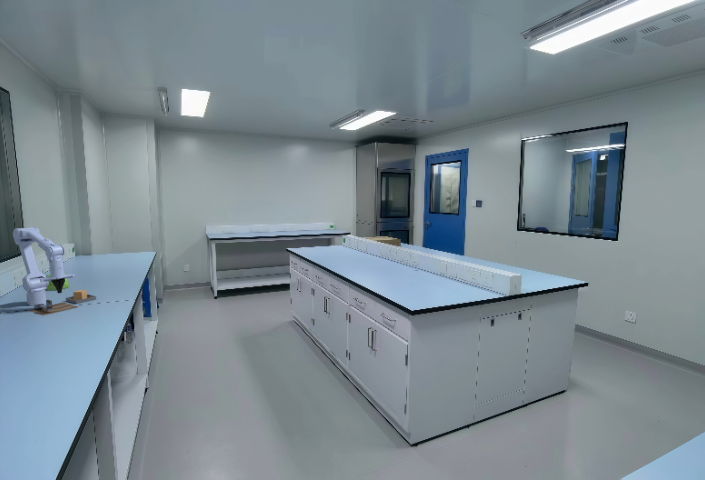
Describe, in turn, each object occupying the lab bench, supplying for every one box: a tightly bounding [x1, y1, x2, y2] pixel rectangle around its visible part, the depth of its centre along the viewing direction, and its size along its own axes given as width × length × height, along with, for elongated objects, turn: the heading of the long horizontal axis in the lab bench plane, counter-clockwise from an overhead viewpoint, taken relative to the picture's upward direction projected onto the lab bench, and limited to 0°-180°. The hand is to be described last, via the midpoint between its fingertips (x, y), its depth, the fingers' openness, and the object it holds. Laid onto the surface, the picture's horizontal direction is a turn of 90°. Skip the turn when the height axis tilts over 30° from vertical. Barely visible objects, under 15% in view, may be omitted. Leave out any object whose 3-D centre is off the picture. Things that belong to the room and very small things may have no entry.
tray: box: [65, 293, 97, 305], centre depth 212 cm, size 12×10×3 cm
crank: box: [33, 299, 53, 311], centre depth 193 cm, size 16×4×6 cm, turn 61°
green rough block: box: [45, 273, 70, 291], centre depth 242 cm, size 18×10×10 cm, turn 71°
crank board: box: [27, 302, 79, 316], centre depth 197 cm, size 18×16×1 cm
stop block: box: [72, 289, 88, 300], centre depth 211 cm, size 4×4×6 cm
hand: (59, 292), depth 197 cm, fingers closed
